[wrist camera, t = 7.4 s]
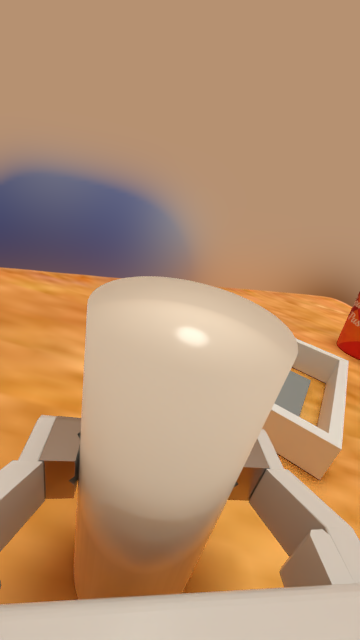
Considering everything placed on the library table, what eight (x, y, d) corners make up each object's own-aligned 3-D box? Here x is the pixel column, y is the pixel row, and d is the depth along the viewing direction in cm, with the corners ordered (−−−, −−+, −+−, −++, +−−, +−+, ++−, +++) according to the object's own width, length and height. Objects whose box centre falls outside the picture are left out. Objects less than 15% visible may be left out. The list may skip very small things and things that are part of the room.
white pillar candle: (137, 684, 8) (259, 431, 3) (47, 563, 11) (36, 294, 5) (207, 541, 12) (313, 324, 7) (131, 473, 15) (171, 269, 9)
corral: (319, 480, 17) (341, 449, 15) (157, 376, 23) (163, 348, 21) (335, 383, 28) (348, 360, 26) (222, 330, 33) (228, 310, 32)
